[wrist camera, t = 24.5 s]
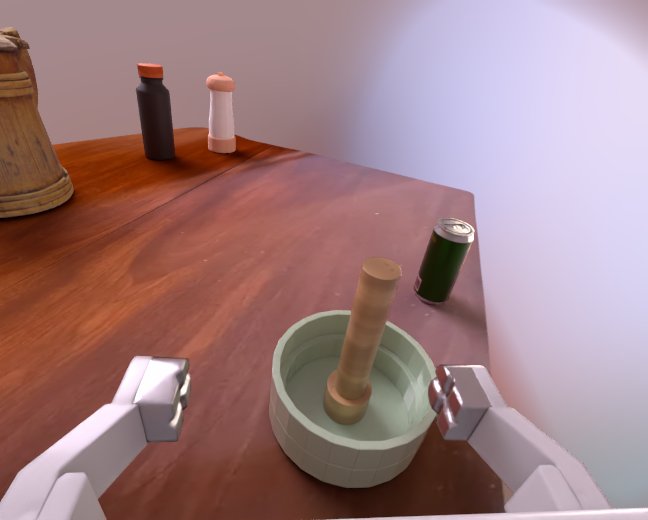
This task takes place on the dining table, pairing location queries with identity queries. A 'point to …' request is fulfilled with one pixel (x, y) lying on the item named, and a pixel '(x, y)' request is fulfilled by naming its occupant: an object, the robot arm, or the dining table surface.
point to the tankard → (25, 138)
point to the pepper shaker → (221, 114)
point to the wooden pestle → (361, 341)
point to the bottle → (155, 113)
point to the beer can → (443, 260)
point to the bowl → (381, 414)
